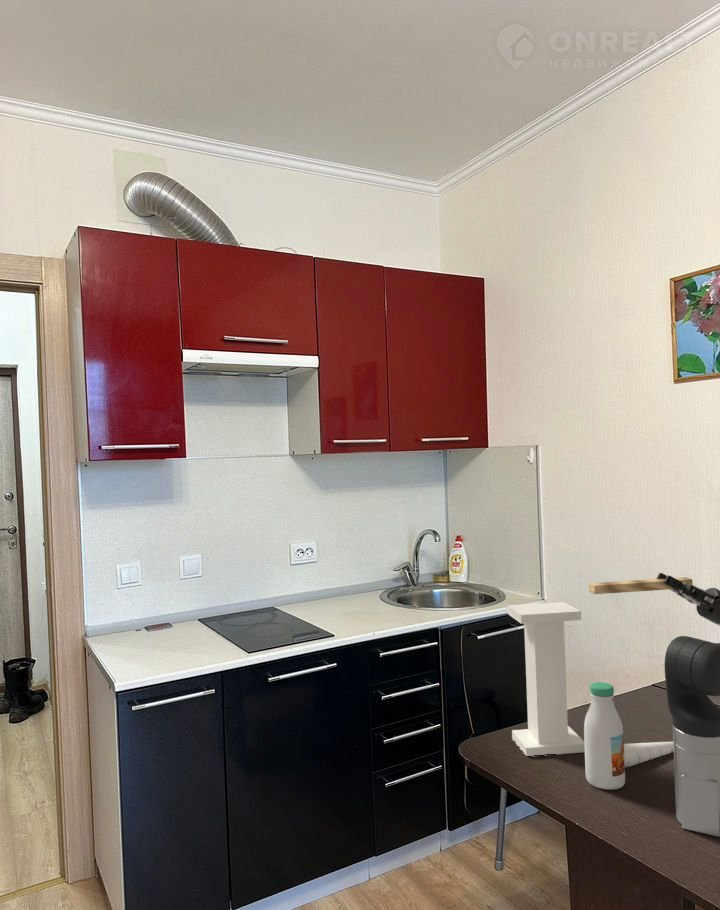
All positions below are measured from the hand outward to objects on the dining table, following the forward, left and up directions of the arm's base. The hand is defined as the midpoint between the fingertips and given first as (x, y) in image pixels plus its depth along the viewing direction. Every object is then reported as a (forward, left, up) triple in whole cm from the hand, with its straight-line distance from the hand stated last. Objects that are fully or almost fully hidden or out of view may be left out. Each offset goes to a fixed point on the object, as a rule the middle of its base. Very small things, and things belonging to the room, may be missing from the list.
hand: (662, 577), depth 163 cm
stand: (-18, +23, -37) cm, 48 cm away
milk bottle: (-30, +8, -38) cm, 49 cm away
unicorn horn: (-13, +2, -38) cm, 40 cm away
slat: (-3, +4, -3) cm, 6 cm away
